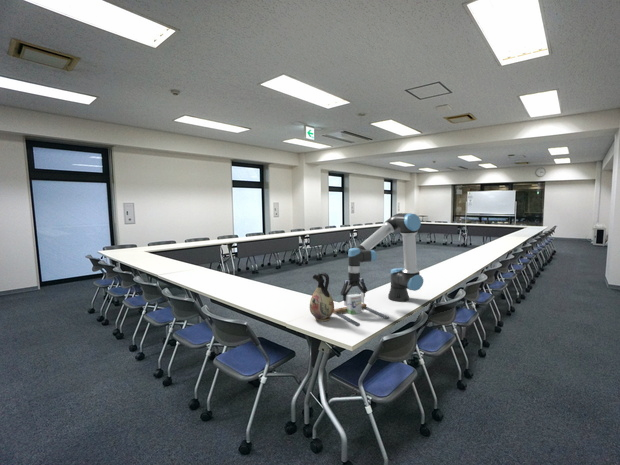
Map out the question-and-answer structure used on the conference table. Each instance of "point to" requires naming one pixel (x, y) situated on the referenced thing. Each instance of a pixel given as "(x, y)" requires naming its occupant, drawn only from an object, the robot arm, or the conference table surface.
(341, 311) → the end stop
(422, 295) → the conference table surface
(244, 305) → the conference table surface
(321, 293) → the ceramic jug
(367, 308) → the guide rails
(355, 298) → the ink box
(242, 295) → the conference table surface
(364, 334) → the conference table surface
